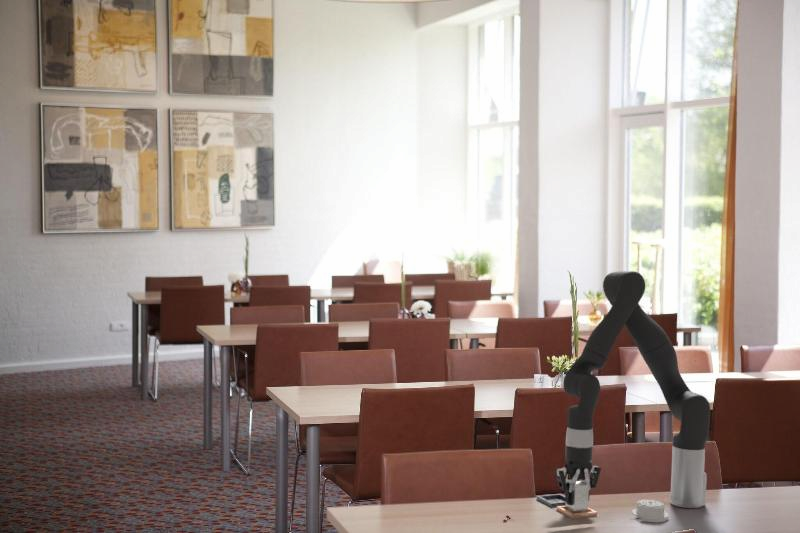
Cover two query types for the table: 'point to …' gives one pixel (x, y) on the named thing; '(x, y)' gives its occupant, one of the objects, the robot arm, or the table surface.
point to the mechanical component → (650, 511)
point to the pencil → (506, 518)
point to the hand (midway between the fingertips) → (576, 503)
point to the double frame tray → (564, 506)
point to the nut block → (579, 498)
